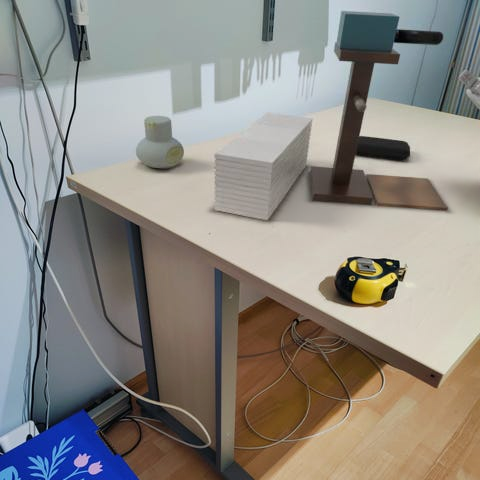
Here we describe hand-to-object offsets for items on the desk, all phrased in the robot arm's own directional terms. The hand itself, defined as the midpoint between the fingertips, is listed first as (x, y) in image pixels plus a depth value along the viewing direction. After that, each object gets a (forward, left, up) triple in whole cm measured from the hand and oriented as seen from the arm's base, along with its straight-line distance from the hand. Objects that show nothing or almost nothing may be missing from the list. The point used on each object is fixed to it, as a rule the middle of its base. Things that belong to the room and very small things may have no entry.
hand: (470, 78), depth 78 cm
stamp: (+16, 0, +4) cm, 16 cm away
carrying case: (+7, -26, -22) cm, 35 cm away
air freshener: (+61, -6, -22) cm, 65 cm away
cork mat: (+6, 0, -22) cm, 23 cm away
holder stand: (+20, 0, -22) cm, 30 cm away
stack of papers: (+36, +2, -22) cm, 42 cm away
